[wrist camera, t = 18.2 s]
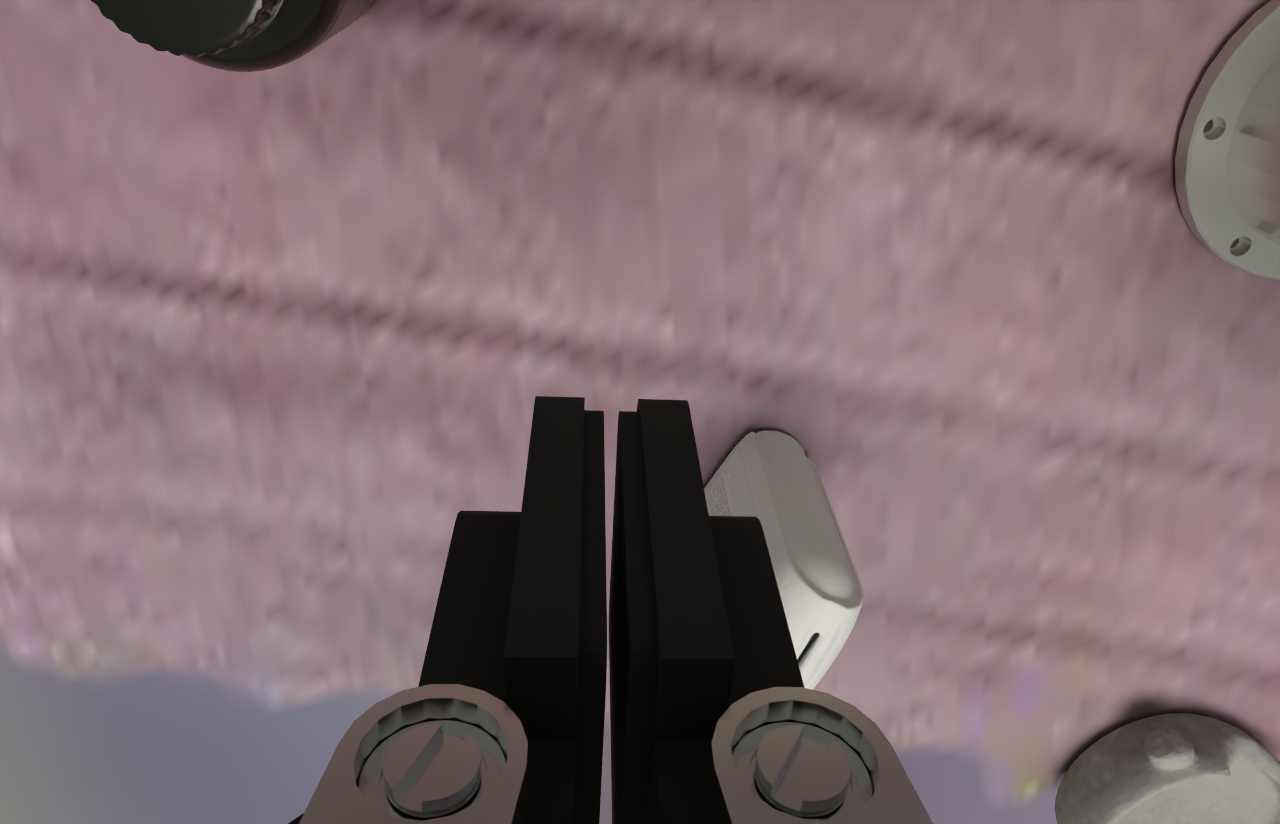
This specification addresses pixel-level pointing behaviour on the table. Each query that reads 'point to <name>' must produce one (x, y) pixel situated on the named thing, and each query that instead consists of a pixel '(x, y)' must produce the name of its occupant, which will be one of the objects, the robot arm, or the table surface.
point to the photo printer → (794, 542)
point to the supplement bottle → (234, 28)
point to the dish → (1172, 776)
